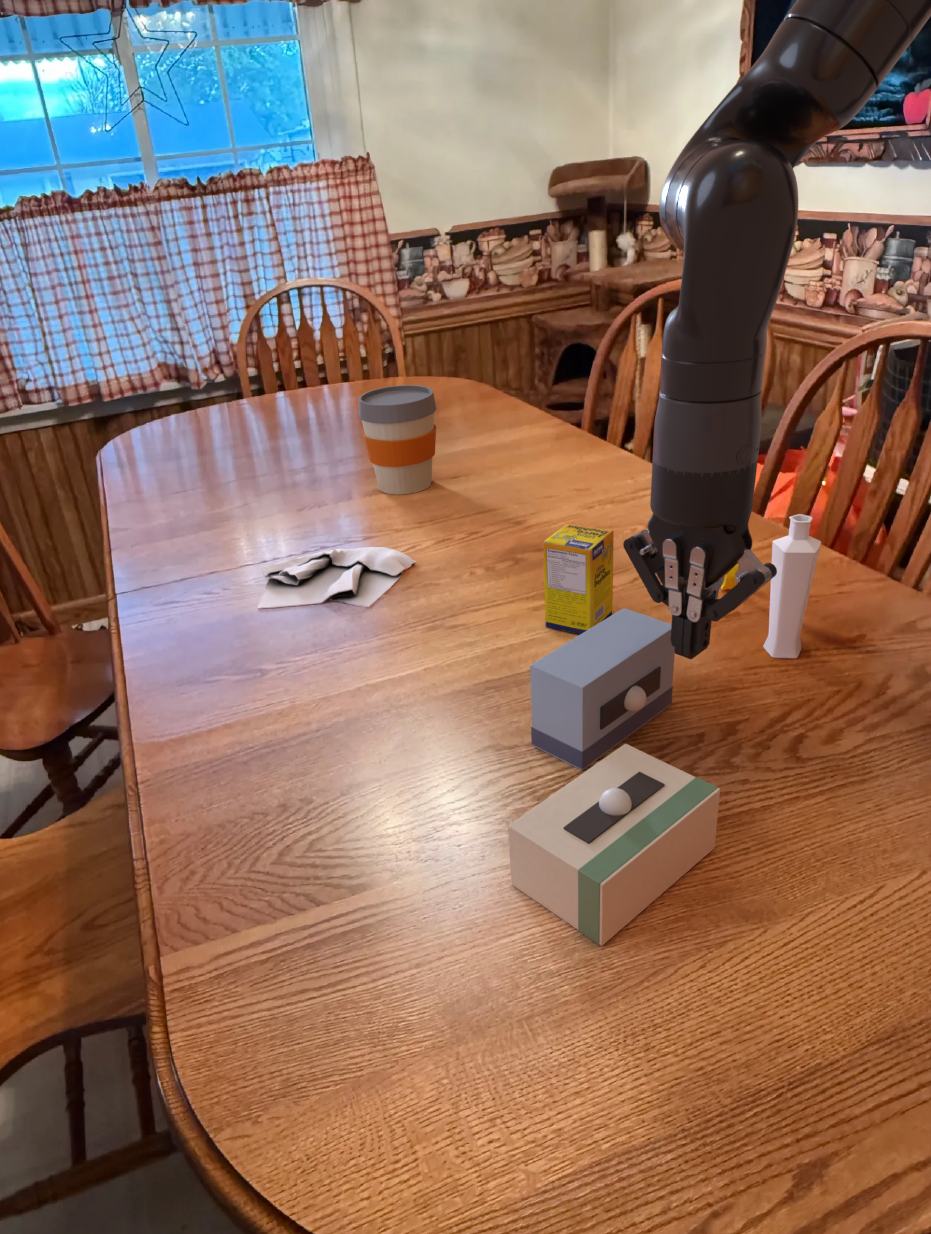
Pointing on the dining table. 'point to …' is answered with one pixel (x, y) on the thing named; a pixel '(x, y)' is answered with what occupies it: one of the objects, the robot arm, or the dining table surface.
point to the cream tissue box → (613, 840)
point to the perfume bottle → (791, 587)
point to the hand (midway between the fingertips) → (688, 652)
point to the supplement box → (578, 577)
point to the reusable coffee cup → (400, 436)
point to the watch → (730, 578)
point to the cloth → (334, 577)
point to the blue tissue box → (601, 687)
